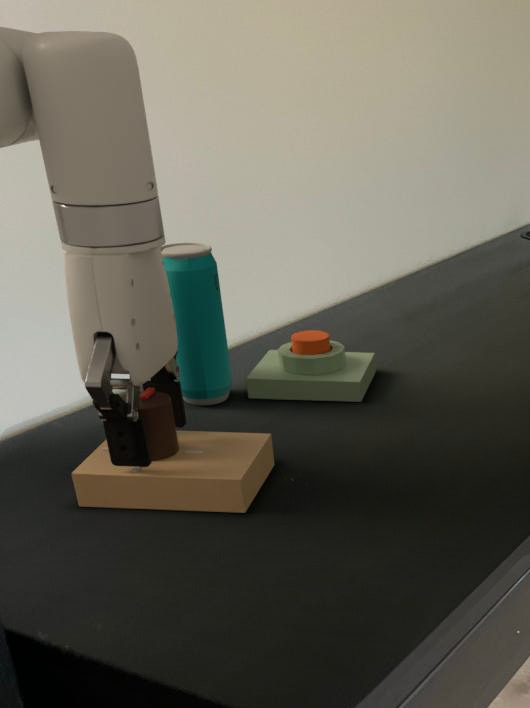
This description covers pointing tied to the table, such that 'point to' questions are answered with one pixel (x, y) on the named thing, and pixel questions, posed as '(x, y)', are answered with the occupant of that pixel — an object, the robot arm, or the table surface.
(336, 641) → the table surface
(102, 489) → the dial panel
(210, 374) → the beverage can
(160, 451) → the dial
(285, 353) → the switch base
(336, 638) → the table surface
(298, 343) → the switch button
